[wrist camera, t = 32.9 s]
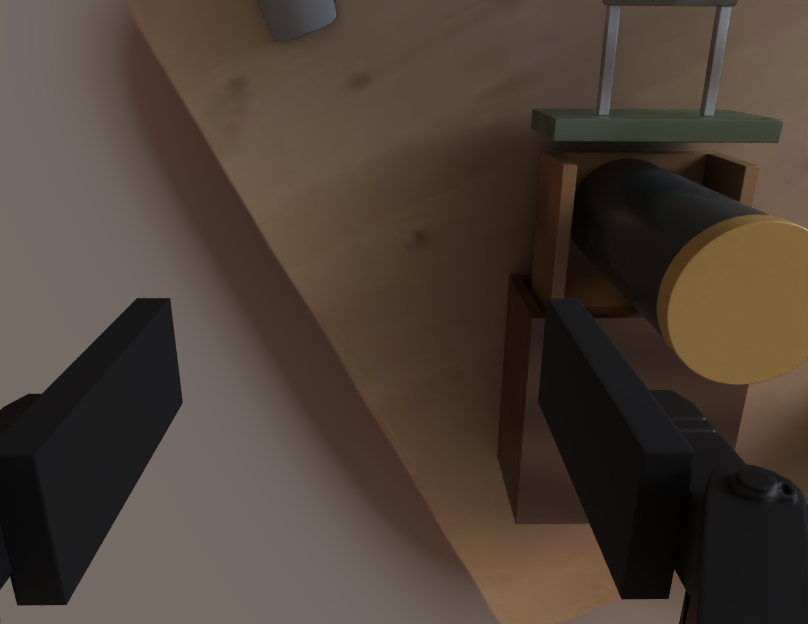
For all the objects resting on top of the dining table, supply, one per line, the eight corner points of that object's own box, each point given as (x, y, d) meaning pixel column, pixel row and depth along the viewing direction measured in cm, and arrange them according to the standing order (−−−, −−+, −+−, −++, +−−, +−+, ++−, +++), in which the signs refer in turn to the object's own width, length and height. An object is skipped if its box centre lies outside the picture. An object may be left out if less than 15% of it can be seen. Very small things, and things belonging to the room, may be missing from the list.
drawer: (541, -22, 40) (568, -34, 34) (752, -19, 40) (813, -31, 35) (517, 311, 48) (536, 348, 42) (695, 311, 48) (738, 348, 42)
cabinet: (509, 274, 48) (531, 317, 40) (703, 275, 48) (762, 317, 40) (497, 456, 53) (515, 524, 45) (672, 455, 53) (719, 522, 46)
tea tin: (552, 182, 43) (648, 260, 27) (664, 138, 43) (828, 193, 27) (584, 282, 46) (688, 407, 30) (690, 243, 45) (854, 350, 29)
